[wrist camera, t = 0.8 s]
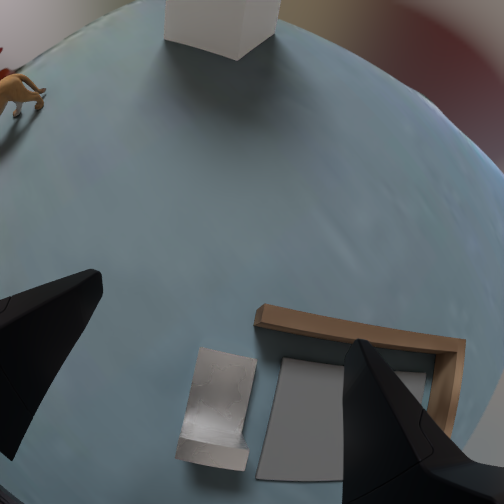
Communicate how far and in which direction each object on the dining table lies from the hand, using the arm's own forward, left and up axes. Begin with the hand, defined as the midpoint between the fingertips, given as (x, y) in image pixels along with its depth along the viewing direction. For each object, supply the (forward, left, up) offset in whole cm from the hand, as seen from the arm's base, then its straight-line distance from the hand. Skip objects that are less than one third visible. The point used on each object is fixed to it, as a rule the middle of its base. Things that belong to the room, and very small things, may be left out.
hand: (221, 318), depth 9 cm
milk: (+38, +10, -12) cm, 41 cm away
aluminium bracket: (-5, -1, -12) cm, 13 cm away
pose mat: (-6, -12, -12) cm, 18 cm away
